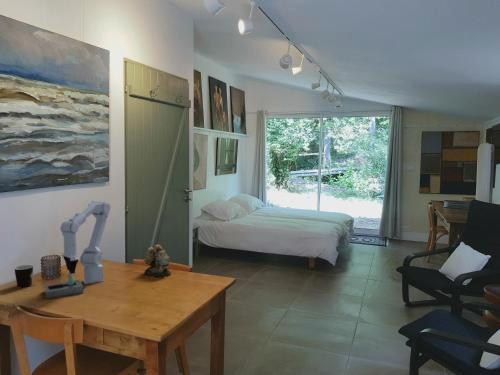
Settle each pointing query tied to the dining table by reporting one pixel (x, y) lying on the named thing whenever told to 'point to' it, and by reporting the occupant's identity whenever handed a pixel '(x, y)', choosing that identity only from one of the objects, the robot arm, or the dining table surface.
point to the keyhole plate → (63, 289)
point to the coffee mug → (24, 275)
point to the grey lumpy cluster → (157, 262)
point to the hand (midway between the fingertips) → (70, 271)
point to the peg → (70, 280)
